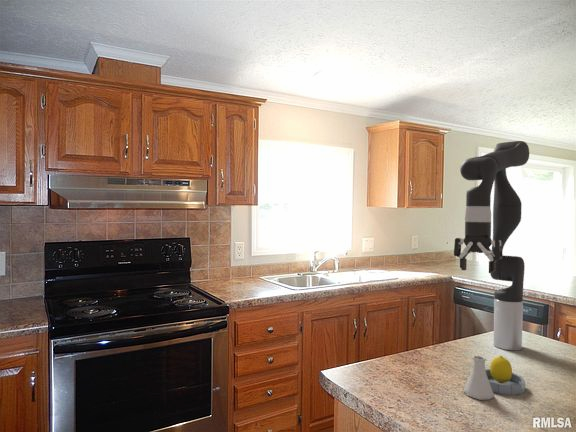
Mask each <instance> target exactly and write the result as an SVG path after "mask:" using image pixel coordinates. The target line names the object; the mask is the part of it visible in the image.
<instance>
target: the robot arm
mask: <svg viewBox="0 0 576 432" xmlns="http://www.w3.org/2000/svg"><path fill="white" fill-rule="evenodd" d="M529 159H530V148H529V144H528V143H527V142H525V141H524V140H523V141H522V140H515V141H504V142H499V143H497V144H495V146H494V148H493V151H492V152H488V153H486V154H483V155H481V156H475V157H469V158H467V159H465V160H464V161H463V162H462V163H461V165H460V170H459V171H460V174H461V176H462V178H463V179H465V181H481V183H480V184H479V185H477V186H474V187H470V188H468V189H467V190H466V193H465V194H466V196H465V197H466V198H465V199H466V201H465V203H466V204H465V211H464V212H465V215H464V238H461V237H456V238H455V239H454V249H453V255H454V257H457V258H459V268H460V269H461V271H466V270H467V256H468V255H469V254H470V253H478V254H482V253H483V254H484V255H485V256H486V257H487V259H488V260H489V261H488V274H490V276H491V278H492V280H496V281H502V282H503V281H505V282H512V283H511V285H510V286H508V287H505V288H501V289H500V288H499V289H497V290H494V295H493V340H492V341H493V346H494V347H496V348H499V349H503V350H506V351H521V350H522V349H523V317H524V316H523V315H524V314H523V304H524V303H523V302H524V280H525V279H524V278H525V269H526V268H525V260H524V259H523V257H522V256H516V255H515V256H514V255H504V254H503V250H504V247H505V245H506V242H507V241H508V239H509V238H510V236H512V234H513V233H514V231H515V230H516V229H517V228H518V226H519V224H520V223H521V221H522V201H521V198H520V197H519V195H518V193H517V192H516V190H515V189H514V188H513V187H512V184H511V183H510V182H509V179H508V176H507V175H508V174H507V171H506V170H507V169H508V168H512V167H514V168H515V167H521V166H524V165H526V164H527V163H528V161H529ZM493 186H494V187H493ZM493 188H494V189H493ZM492 189H493V204H492V205H493V209H492V210H491V201H492V200H491V199H492V198H491V196H492V195H491V194H492ZM491 236H492V237H491ZM463 244H464V245H465V248H464V249H463V250H462V246H463ZM490 247H491V248H490Z"/></svg>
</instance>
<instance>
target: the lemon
mask: <svg viewBox="0 0 576 432" xmlns="http://www.w3.org/2000/svg"><path fill="white" fill-rule="evenodd" d="M489 369H490V373H491V376H492V377H493V378H494V379H495V380H496V381H498V382H499V383H502V384H503V383H505V382H508V381H509V380H510V378H511V376H512V373H513V368H512V365H511V362H510V361H509V360H508V359H507V358H506V357H503V356H502V355H499V356H496V357H494V358H493V359H492V360H491V362H490V366H489Z"/></svg>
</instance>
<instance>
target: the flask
mask: <svg viewBox="0 0 576 432" xmlns="http://www.w3.org/2000/svg"><path fill="white" fill-rule="evenodd" d="M471 358H472V360H473V363H472V369H471V372H470V374H469V377H468V380H466V381H467V382H466V383H465V385H464V388H463V391H462V392H463V393H464V394H465V395H467V396H468V397H471V398H474V399H476V400H479V401H480V400H483V401H485V400H491V399H493V398H494V397H495V392H493V391H492V388H491V386H490V383H489V380H488V377H487V374H486V370H485V369H486V364H485V363H486V361H487V358H486V357H484V356H482V355H473V356H472V357H471Z"/></svg>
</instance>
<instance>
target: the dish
mask: <svg viewBox="0 0 576 432" xmlns="http://www.w3.org/2000/svg"><path fill="white" fill-rule="evenodd" d="M485 370H486V374H487V377H488V380H489V383H490V386H491V388H492V391H493V393H496V394H500V395H501V394H502V395H506V396H507V395H509V396H514V395H515V396H516V395H521V394H523V393H525V391H526V381H525V379H524V378H523V377H522V376H520V375H519V374H517V373H514V372H512V376H511V378H510V380H509V381H508V382H505V383H503V384H502V383H499V382H498V381H496V380H495V379H494V378H493V377H492V376H491V373H490V368H485Z"/></svg>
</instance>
